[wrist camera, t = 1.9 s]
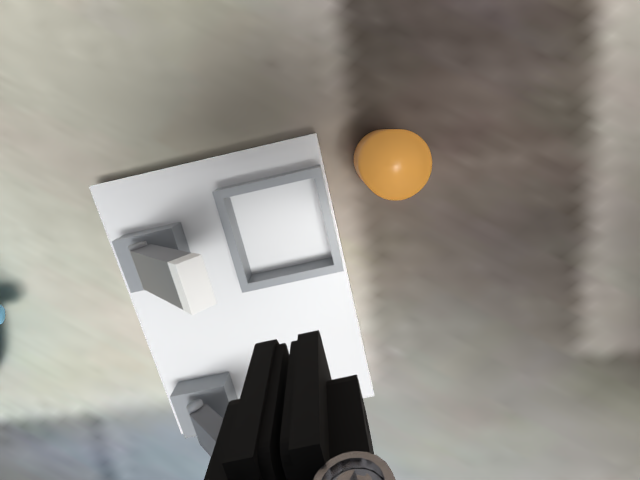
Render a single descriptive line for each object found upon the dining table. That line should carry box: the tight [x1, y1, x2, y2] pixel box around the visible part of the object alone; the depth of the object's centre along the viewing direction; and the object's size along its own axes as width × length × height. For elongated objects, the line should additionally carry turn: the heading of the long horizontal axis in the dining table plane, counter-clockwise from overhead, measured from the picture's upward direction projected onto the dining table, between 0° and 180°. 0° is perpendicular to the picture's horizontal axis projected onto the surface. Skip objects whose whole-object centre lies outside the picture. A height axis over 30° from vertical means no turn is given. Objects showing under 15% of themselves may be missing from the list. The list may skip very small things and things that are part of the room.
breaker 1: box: [128, 241, 217, 315], centre depth 25 cm, size 1×3×10 cm
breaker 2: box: [186, 399, 223, 456], centre depth 29 cm, size 1×3×9 cm
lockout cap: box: [354, 129, 432, 200], centre depth 29 cm, size 4×4×6 cm
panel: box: [89, 133, 374, 439], centre depth 32 cm, size 17×22×4 cm
